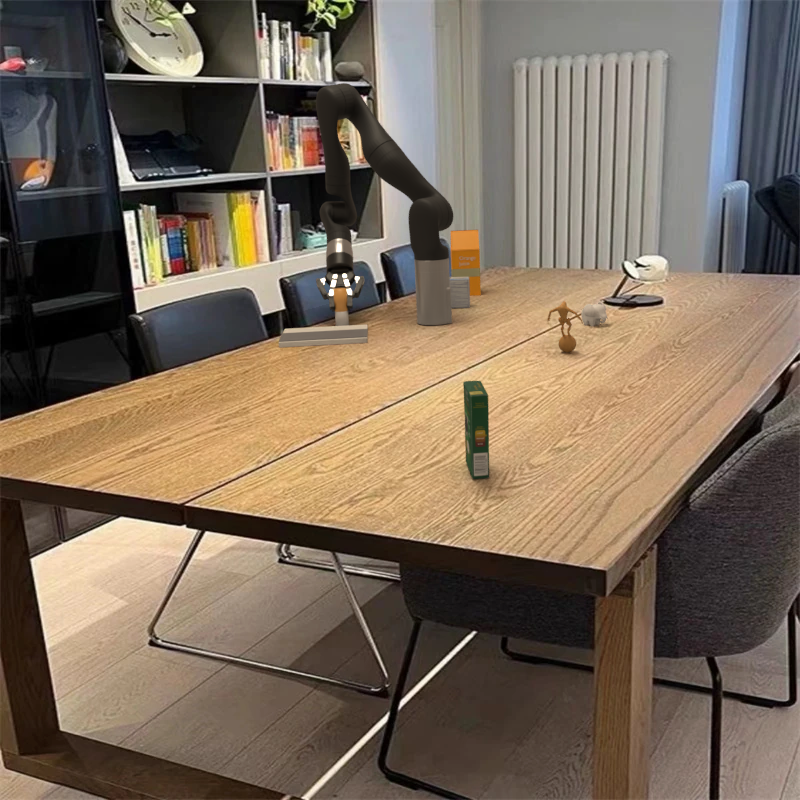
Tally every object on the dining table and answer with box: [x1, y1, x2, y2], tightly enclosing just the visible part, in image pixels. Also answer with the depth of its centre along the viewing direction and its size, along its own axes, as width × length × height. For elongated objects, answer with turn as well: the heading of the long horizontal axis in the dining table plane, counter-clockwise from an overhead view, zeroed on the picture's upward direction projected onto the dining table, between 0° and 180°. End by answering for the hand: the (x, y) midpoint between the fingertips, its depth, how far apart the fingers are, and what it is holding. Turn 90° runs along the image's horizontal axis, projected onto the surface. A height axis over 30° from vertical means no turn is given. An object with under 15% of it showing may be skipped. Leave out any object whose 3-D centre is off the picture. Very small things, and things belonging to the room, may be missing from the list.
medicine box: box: [450, 276, 471, 309], centre depth 281 cm, size 8×4×9 cm, turn 84°
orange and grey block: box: [333, 288, 350, 326], centre depth 262 cm, size 4×4×10 cm
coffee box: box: [463, 380, 490, 480], centre depth 143 cm, size 8×3×13 cm, turn 3°
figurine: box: [547, 301, 584, 353], centre depth 216 cm, size 8×6×12 cm
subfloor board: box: [278, 324, 369, 348], centre depth 248 cm, size 22×18×1 cm
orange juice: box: [450, 229, 482, 297], centre depth 302 cm, size 8×9×20 cm
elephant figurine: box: [580, 300, 609, 327], centre depth 246 cm, size 7×8×6 cm
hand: (341, 309), depth 261 cm, fingers closed on orange and grey block, 3 cm apart
